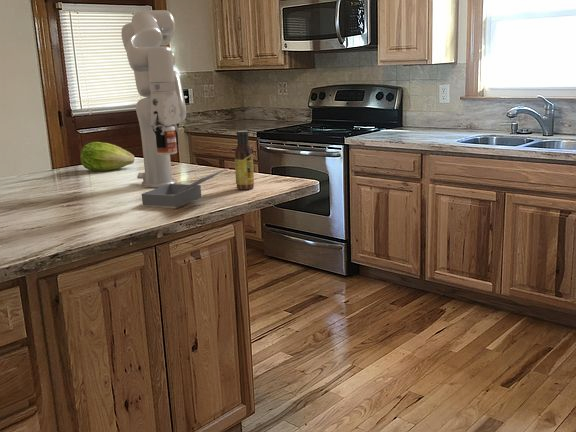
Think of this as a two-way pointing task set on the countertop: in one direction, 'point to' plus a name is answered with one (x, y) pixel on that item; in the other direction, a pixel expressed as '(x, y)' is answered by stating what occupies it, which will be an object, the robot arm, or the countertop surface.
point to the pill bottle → (169, 141)
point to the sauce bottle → (244, 162)
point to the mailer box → (170, 196)
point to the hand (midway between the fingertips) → (167, 145)
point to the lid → (201, 180)
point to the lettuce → (105, 157)
